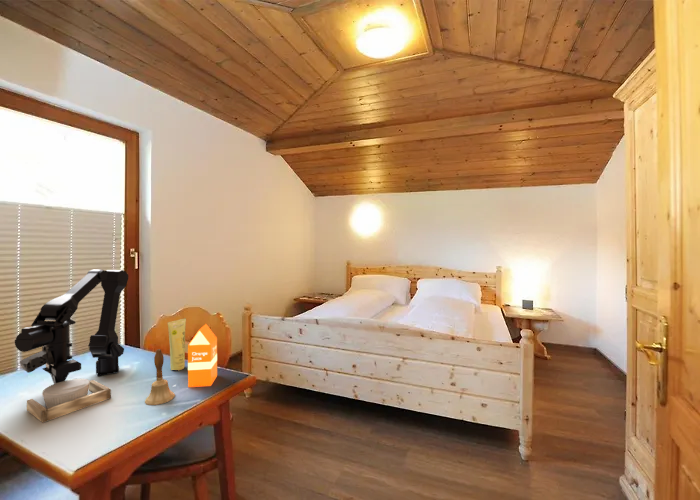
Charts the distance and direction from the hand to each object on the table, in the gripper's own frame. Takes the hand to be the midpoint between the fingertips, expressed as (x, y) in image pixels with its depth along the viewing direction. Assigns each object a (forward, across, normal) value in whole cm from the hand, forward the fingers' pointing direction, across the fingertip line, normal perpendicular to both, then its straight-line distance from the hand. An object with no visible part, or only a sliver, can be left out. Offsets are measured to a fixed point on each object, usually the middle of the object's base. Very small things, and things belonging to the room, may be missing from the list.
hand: (58, 388), depth 103 cm
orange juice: (+3, +29, +32) cm, 43 cm away
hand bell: (+3, +29, +16) cm, 34 cm away
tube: (+3, +10, +33) cm, 35 cm away
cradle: (+2, +9, 0) cm, 9 cm away
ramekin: (+3, +7, 0) cm, 8 cm away
